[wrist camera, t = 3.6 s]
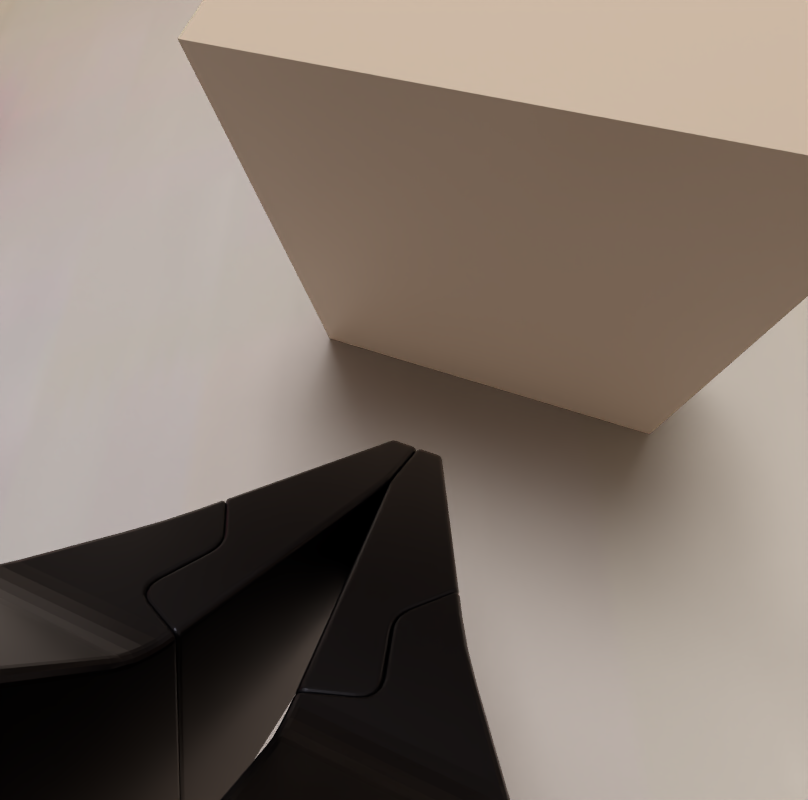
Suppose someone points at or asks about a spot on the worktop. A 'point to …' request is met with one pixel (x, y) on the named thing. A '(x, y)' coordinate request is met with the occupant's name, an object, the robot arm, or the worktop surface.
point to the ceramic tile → (529, 181)
